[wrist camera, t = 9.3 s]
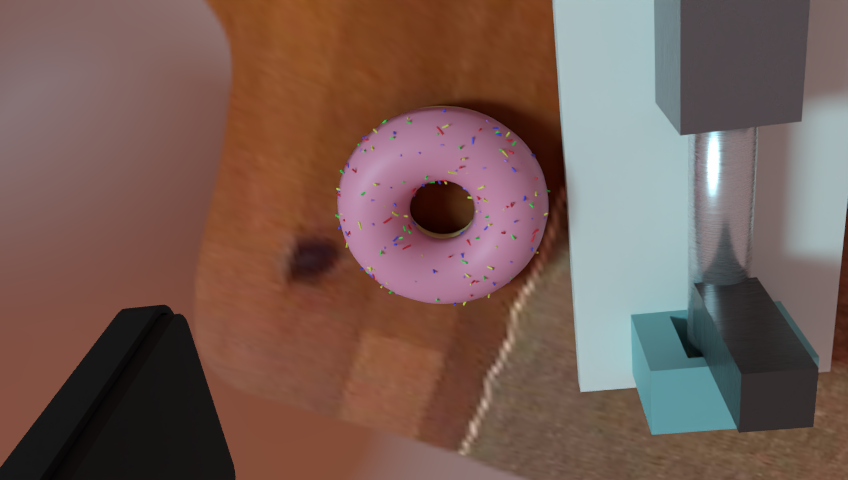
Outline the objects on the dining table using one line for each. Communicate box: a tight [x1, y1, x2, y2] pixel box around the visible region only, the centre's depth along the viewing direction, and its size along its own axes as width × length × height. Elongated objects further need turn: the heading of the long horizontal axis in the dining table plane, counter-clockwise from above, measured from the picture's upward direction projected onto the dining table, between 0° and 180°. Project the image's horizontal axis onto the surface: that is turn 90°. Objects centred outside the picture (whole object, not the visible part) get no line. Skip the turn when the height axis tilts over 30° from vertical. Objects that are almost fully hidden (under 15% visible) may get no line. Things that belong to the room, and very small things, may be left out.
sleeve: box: [654, 0, 810, 136], centre depth 34 cm, size 9×5×5 cm, turn 8°
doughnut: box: [335, 106, 550, 305], centre depth 40 cm, size 11×11×4 cm
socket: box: [631, 301, 819, 435], centre depth 41 cm, size 4×8×5 cm, turn 98°
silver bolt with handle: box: [687, 127, 819, 432], centre depth 34 cm, size 19×3×10 cm, turn 8°
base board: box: [552, 0, 848, 392], centre depth 39 cm, size 30×14×1 cm, turn 8°
